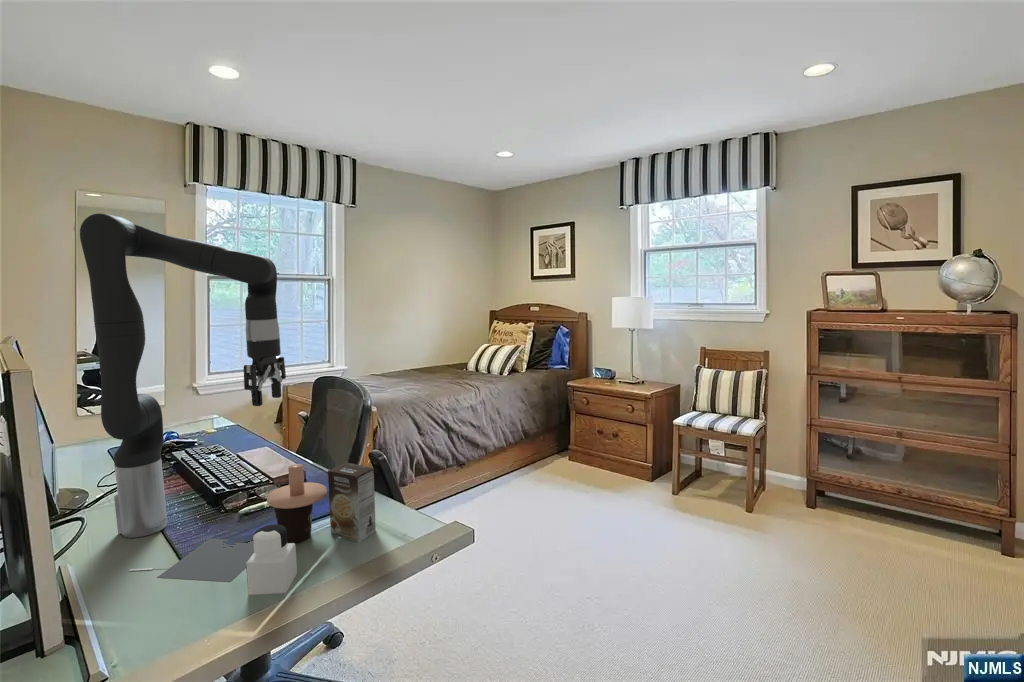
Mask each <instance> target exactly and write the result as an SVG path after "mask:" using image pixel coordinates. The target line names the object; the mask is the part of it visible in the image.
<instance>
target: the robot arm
mask: <svg viewBox="0 0 1024 682" xmlns="http://www.w3.org/2000/svg"><path fill="white" fill-rule="evenodd" d="M79 240H80V244H81V249H82V253H83V256H84V259H85V264H86V268H87V272H88V278H89V285H90V293H91V294H90V295H91V296H90V297H91V302H92V304H91V305H92V309H93V322H94V330H95V331H94V332H95V339H96V343H97V351H98V363H99V371H100V382H101V383H100V384H101V385H100V387H101V388H100V391H101V393H100V394H101V395H100V416H101V417H100V419H101V424H102V426H103V428H104V431H105V432H106V433H107V434H108V435H109V436H111V437H112V438H114V439H116V440H120V441H121V440H122V441H121V444H120V445H119V447H118V448H117V450H116V451H115V453H114V455H113V464H114V472H115V482H116V489H117V494H115V495H114V497H113V500H114V508H115V519H116V526H117V534H119V535H120V534H121V535H122V537H124V538H130V539H131V538H141V537H146V536H149V535H153V534H155V533H158V532H161V531H162V530H163V529H165V528H166V527H167V525H168V516H167V505H166V495H165V494H166V493H165V485H164V484H165V483H164V474H163V463H162V453H161V452H162V448H163V445H164V425H163V424H164V423H163V422H164V421H163V419H164V418H163V412H162V408H161V405H160V403H159V402H158V400H157V399H156V398H155V397H153V396H152V395H150V394H146V393H138V388H137V375H138V369H139V366H140V364H141V360H142V358H143V354H144V350H145V346H146V329H145V328H146V327H145V321H144V315H143V311H142V307H141V305H140V303H139V301H138V298H137V296H136V294H135V292H134V290H133V288H132V285H131V283H130V281H129V277H128V273H127V272H128V271H127V261H126V257H136V258H146V259H147V258H149V259H154V260H159V261H161V262H162V261H163V262H166V263H171V264H172V265H176V266H179V267H182V268H185V269H189V270H192V271H195V272H199V273H203V274H210V275H213V276H217V277H225V278H228V279H231V280H235V281H238V282H241V283H245V284H247V296H246V298H245V301H244V313H245V339H246V341H245V343H246V354H247V357H248V358H250V359H252V363H251V364H244V365H243V389H244V390H246V391H250V392H251V403H252V404H251V405H252V406H253V407H262V406H263V391H262V387H263V386H264V384H265V383H266V382H267V379H269V381H270V383H271V384H270V385H271V386H270V387H271V397H272V398H274V399H275V398H276V399H279V398H282V386H281V385H282V382H283V380H286V377H287V372H286V365H285V357H284V356H281V353H282V352H281V339H280V336H281V335H280V326H279V321H278V309H277V307H278V306H277V300H276V297H277V285H278V273H277V268H276V267H277V266H276V265H275V263H274V262H273V260H271V259H270V258H268V257H267V256H262V255H257V254H256V255H255V254H252V253H246V252H242V251H241V252H240V251H236V250H232V249H230V248H227V247H225V246H221V245H216V244H211V243H208V242H204V241H199V240H194V239H188V238H183V237H178V236H172V235H168V234H164V233H161V232H158V231H155V230H152V229H149V228H147V227H144V226H143V225H139V224H137V223H135V222H132V221H129V220H128V219H126V218H125V217H121V216H117V215H112V214H108V213H93V214H91V215H89V216H87V217H86V218H85V219H84V220H83V221H82V223H81V225H80V228H79Z"/></svg>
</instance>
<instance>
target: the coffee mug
mask: <svg viewBox="0 0 1024 682" xmlns="http://www.w3.org/2000/svg"><path fill="white" fill-rule="evenodd" d="M313 504H314V503H313ZM313 504H310V505H307V506H303V507H298V508H289V509H282V508H275V507H273V509H274V514H275V519H276V523H277V525H283V526H284V527H286V529H287V543H295V545H298V544H302V543H304V542H306V541H307V540H309V539H310V538H311V535H312V521H313V519H312V518H313V506H314V505H313Z"/></svg>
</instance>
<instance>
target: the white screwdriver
mask: <svg viewBox="0 0 1024 682" xmlns="http://www.w3.org/2000/svg"><path fill="white" fill-rule="evenodd" d="M155 570H156V571H157V570H160V571H161V570H162V568H156V569H155V568H151V567H150V568H131V569H129V570H128V572H138V571H140V572H142V571H155Z"/></svg>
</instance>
